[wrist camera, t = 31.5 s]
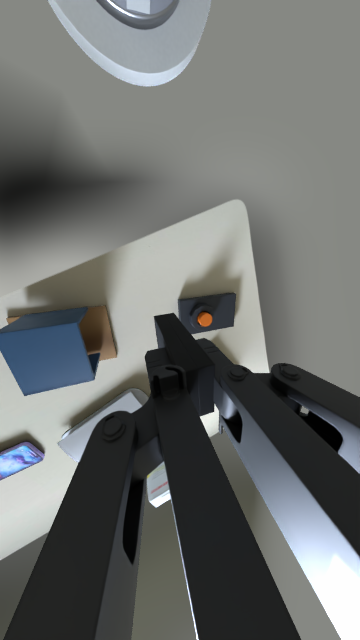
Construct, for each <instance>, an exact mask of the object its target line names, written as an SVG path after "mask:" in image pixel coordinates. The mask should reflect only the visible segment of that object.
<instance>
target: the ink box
mask: <svg viewBox="0 0 360 640" xmlns="http://www.w3.org/2000/svg"><path fill="white" fill-rule="evenodd" d="M147 489H148V499H149V502H150V503H151V504H153V505H154V506H155V507H158V506H159V505H161V504H162V503H164V502H166V501H167V500H169V499H171V497H170V492H169V486H168V481H167V476H166V470H165V465H164V462H163V463H162V464H160V465H159V466H158V467H157V468H156V469H155V470H153V471H152V472H151V473H150V474H149V475H148V476H147Z"/></svg>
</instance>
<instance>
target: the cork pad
mask: <svg viewBox="0 0 360 640" xmlns="http://www.w3.org/2000/svg"><path fill="white" fill-rule="evenodd" d="M20 317H22V316H16V317H8V318H6V319H7V322H8V324H10V323H12V322H14V321H15V320H17V319H19V318H20ZM79 328H80V331H81V334H82V337H83V341H84V344H85V347H86V351H87V354H88V355H89V354H94V353H100V354H101V355H100V359H99V361H101V360H106V359H111V358H116V357H117V354H116V350H115V345H114V341H113V337H112V332H111V328H110V323H109V319H108V315H107V310H106V306H97V307H89V308H88V311H87V313H86V314H85V316H84V317H83V319H82V320H81V322H80V323H79Z"/></svg>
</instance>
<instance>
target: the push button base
mask: <svg viewBox="0 0 360 640" xmlns="http://www.w3.org/2000/svg"><path fill="white" fill-rule="evenodd" d="M235 301H236V294H235V293H226V294H218V295H210V296H203V297H195V298H187V299H180V300H178V309H179V320H180V321H181V323H182V324H183V325H184V326H185V328H186V329H187V330H188V331H189V333H190V334H195V333H201V332H206V331H211V330H217V329H222V328H227V327H233V326H234V314H235ZM201 312H207V313H209V314H210V315H211V316H212V322H211V324H210V325H209V326H202V325H201V324H200V323H199V322H198V320H197V317H198V315H199V314H200V313H201Z"/></svg>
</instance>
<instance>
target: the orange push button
mask: <svg viewBox="0 0 360 640" xmlns="http://www.w3.org/2000/svg"><path fill="white" fill-rule="evenodd" d="M197 320H198V322H199V323H200V324H201V325H202V326H209V325H210V324H211V322H212V316H211V315H210V314H209V313H207V312H201V313H200V314H199V315H198V317H197Z"/></svg>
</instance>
